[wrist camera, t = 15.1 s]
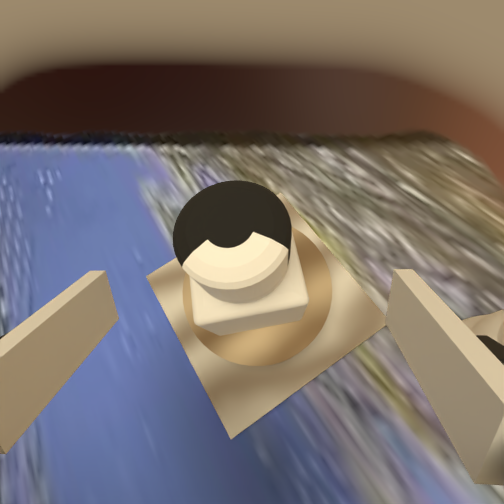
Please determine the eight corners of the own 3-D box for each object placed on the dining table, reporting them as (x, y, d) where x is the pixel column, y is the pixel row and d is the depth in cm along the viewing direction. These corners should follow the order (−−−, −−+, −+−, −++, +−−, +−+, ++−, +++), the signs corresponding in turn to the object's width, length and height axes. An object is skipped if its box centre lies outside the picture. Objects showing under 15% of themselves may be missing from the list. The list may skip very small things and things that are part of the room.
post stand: (150, 279, 32) (123, 261, 27) (280, 198, 35) (280, 166, 29) (233, 436, 26) (219, 455, 20) (386, 323, 28) (411, 313, 23)
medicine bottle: (207, 257, 26) (153, 178, 15) (284, 242, 26) (286, 150, 15) (217, 336, 23) (160, 311, 12) (303, 320, 23) (322, 280, 12)
